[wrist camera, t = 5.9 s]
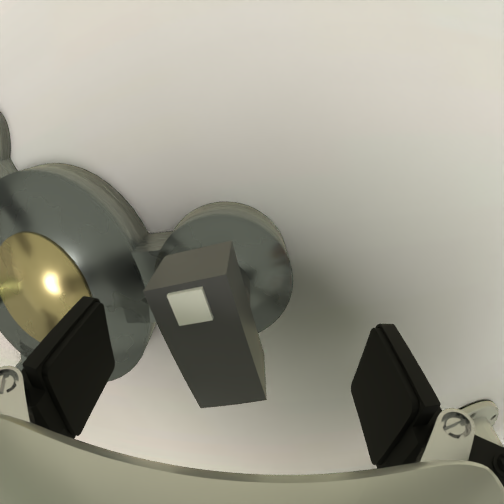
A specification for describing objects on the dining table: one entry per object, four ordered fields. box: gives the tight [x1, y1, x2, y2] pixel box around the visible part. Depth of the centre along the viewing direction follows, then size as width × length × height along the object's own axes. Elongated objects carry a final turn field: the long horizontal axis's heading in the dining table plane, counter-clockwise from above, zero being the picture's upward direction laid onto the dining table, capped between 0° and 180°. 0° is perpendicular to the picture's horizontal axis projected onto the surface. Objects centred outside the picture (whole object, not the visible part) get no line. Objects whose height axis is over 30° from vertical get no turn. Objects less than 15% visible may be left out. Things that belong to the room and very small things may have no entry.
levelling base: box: [0, 112, 293, 381], centre depth 15 cm, size 23×21×3 cm
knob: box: [143, 241, 267, 408], centre depth 11 cm, size 5×2×4 cm, turn 13°
